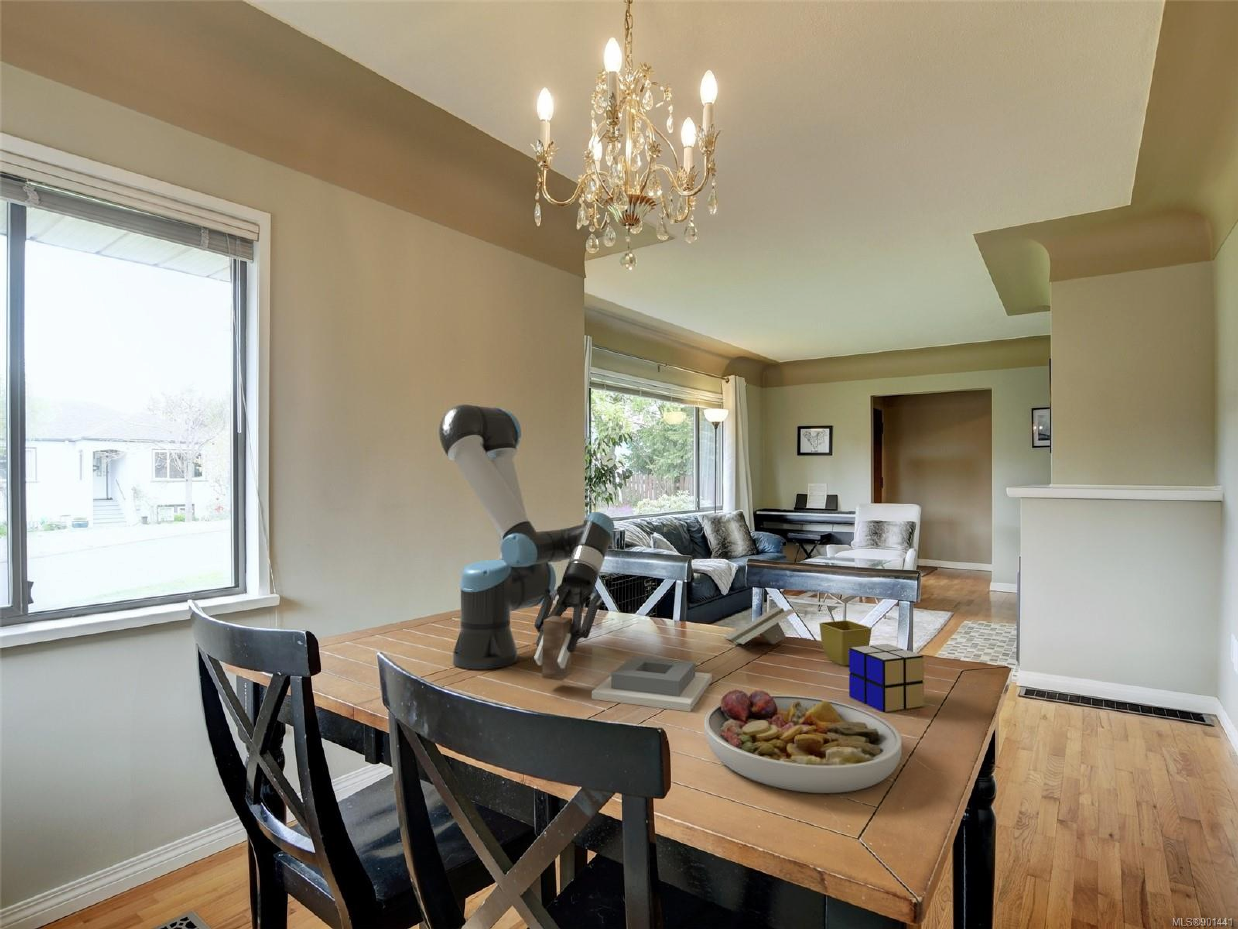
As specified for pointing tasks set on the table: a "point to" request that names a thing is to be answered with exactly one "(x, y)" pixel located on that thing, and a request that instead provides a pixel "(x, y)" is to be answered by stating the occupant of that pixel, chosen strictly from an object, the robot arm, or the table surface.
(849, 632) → the flower pot
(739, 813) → the table surface
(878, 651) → the puzzle cube
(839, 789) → the bowl
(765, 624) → the grey sloped stand
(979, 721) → the table surface
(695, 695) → the socket plate
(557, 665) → the walnut peg
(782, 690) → the table surface
